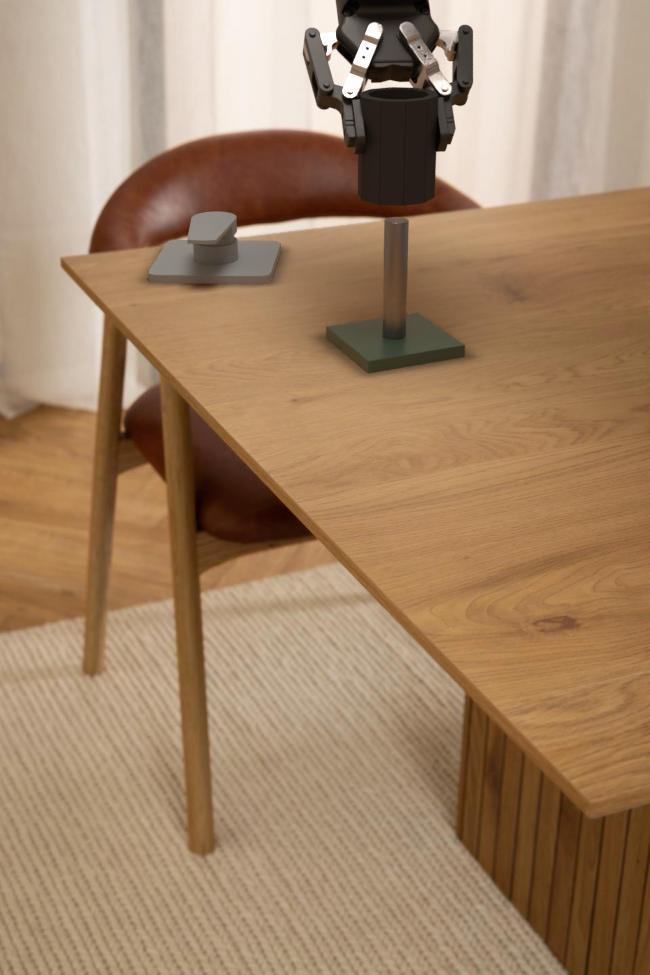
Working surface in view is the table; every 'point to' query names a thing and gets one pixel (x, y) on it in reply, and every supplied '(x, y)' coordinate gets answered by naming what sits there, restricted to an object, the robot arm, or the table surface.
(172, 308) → the table surface
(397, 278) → the holder
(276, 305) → the table surface
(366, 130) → the faceted pencil cup
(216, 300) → the table surface
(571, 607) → the table surface
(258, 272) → the shower valve
